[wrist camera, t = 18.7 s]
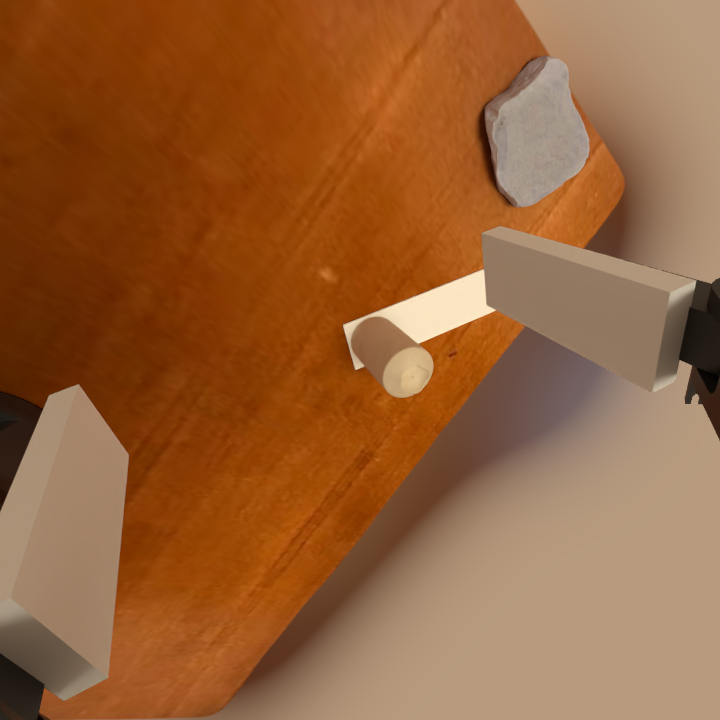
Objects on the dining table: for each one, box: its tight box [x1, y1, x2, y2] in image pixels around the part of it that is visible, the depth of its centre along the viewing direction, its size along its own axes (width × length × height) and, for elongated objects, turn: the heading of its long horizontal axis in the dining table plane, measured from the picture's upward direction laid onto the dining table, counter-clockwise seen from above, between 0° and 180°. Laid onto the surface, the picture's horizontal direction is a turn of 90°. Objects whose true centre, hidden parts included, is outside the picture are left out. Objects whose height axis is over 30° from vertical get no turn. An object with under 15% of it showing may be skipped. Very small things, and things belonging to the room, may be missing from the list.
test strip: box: [343, 269, 496, 370], centre depth 51 cm, size 20×6×1 cm, turn 104°
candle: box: [351, 317, 433, 398], centre depth 45 cm, size 6×6×10 cm
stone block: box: [485, 56, 589, 207], centre depth 45 cm, size 12×5×10 cm
